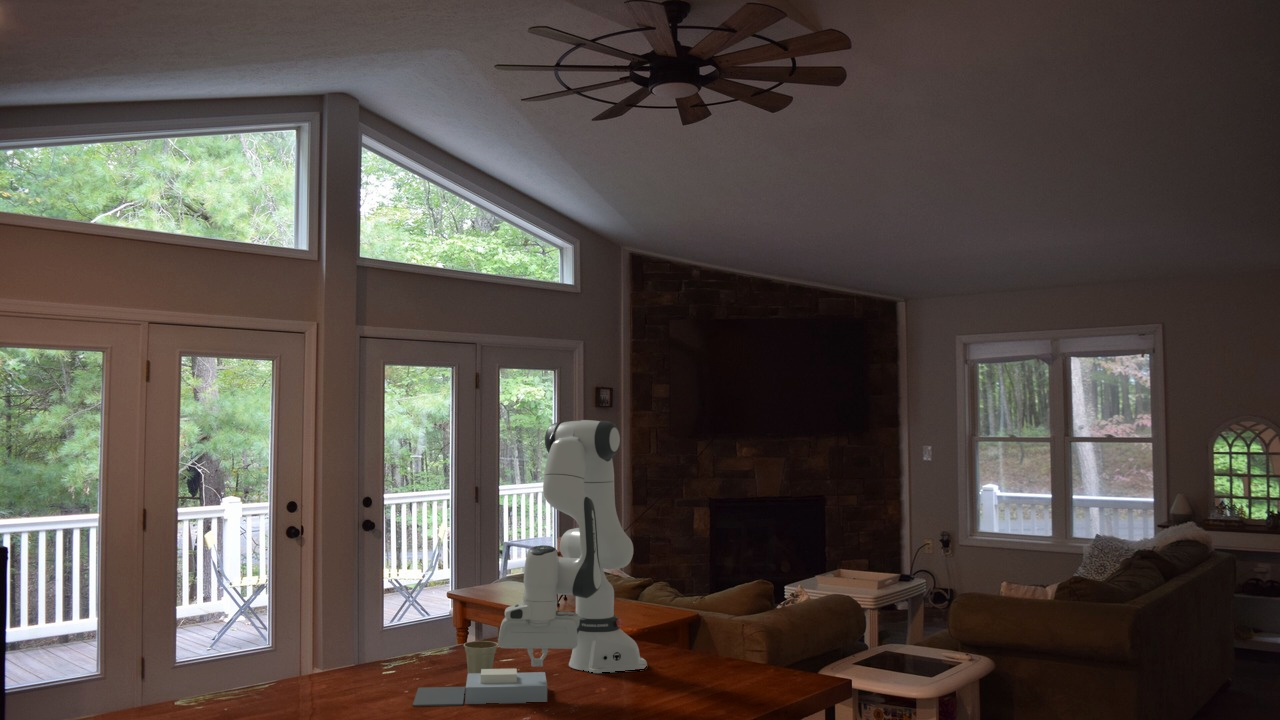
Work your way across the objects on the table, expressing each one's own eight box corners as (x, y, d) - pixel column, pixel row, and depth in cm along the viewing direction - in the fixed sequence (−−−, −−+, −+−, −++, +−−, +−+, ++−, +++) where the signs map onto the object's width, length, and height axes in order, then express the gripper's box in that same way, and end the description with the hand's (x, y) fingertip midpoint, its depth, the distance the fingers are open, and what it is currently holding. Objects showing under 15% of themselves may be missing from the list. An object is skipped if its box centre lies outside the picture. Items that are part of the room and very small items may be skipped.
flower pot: (503, 674, 267) (504, 642, 268) (487, 682, 258) (488, 649, 259) (473, 671, 270) (474, 639, 271) (456, 678, 261) (457, 646, 262)
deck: (544, 687, 253) (545, 672, 254) (547, 702, 240) (547, 686, 240) (467, 689, 251) (467, 673, 251) (465, 704, 237) (465, 687, 237)
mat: (465, 688, 252) (465, 686, 252) (462, 705, 236) (462, 703, 236) (418, 689, 250) (418, 687, 250) (412, 706, 234) (412, 704, 234)
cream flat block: (516, 676, 249) (516, 668, 249) (516, 682, 243) (516, 674, 243) (481, 677, 248) (481, 669, 248) (480, 683, 242) (480, 674, 242)
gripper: (579, 609, 252) (576, 663, 251) (499, 608, 249) (497, 663, 248) (580, 613, 246) (578, 669, 245) (499, 612, 243) (497, 668, 242)
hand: (537, 666), depth 246 cm, fingers closed
